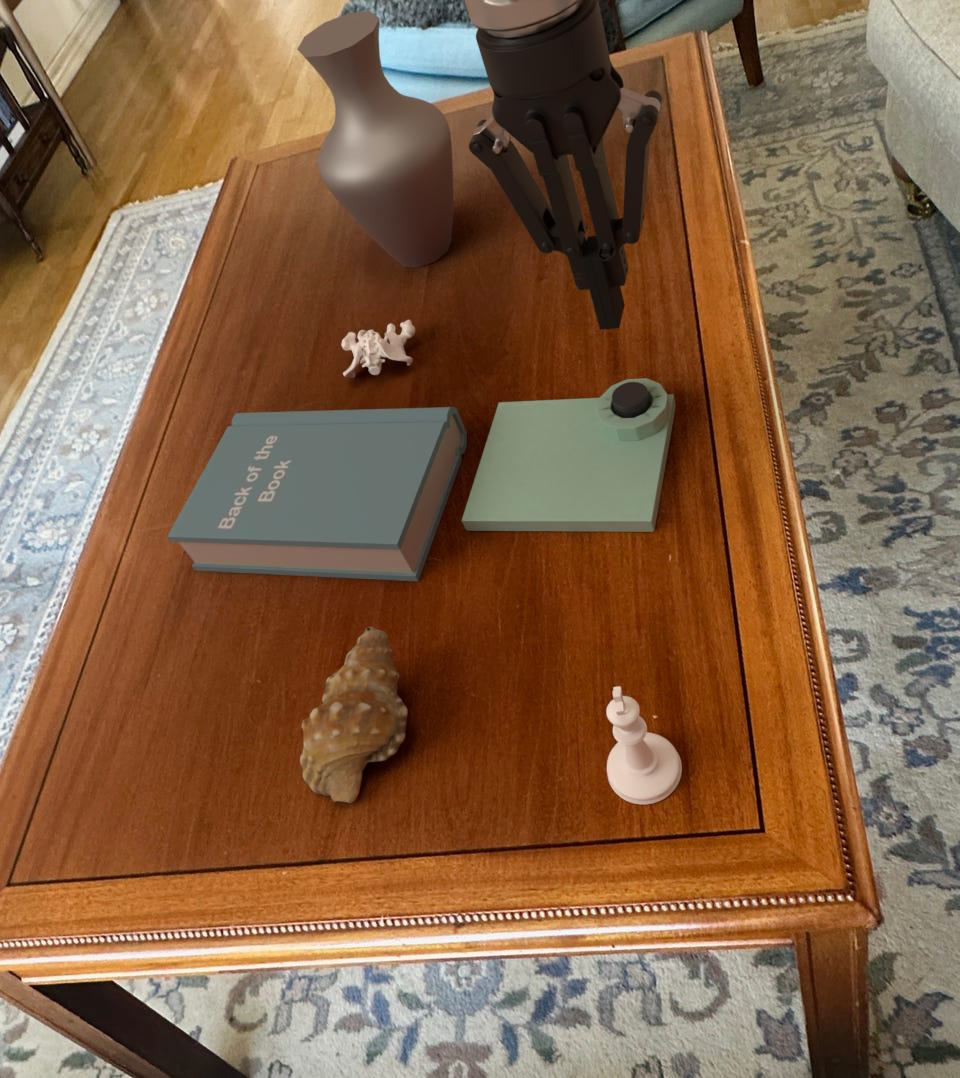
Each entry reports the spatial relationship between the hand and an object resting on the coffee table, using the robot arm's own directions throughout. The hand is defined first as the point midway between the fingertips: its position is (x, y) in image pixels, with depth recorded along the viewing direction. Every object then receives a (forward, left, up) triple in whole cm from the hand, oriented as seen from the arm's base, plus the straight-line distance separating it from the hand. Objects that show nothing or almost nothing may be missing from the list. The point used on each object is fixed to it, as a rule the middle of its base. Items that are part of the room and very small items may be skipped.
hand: (612, 317), depth 75 cm
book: (+27, +8, -13) cm, 31 cm away
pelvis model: (+28, -11, -13) cm, 33 cm away
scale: (+5, +4, -12) cm, 14 cm away
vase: (+29, -30, -13) cm, 43 cm away
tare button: (0, 0, -10) cm, 10 cm away
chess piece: (-5, +31, -13) cm, 34 cm away
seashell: (+16, +30, -13) cm, 37 cm away
